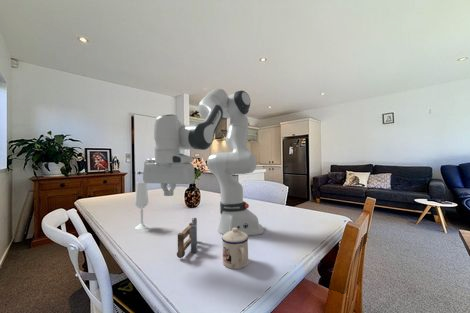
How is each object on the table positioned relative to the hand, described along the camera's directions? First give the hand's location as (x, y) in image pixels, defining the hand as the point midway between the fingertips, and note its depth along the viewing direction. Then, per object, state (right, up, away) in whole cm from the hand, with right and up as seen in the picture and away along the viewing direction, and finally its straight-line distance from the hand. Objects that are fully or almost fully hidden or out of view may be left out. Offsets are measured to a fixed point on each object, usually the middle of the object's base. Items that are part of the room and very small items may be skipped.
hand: (168, 195), depth 73 cm
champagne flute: (-25, -23, +32) cm, 47 cm away
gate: (+6, -22, +3) cm, 23 cm away
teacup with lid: (+25, -22, -7) cm, 34 cm away
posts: (+8, -22, +7) cm, 25 cm away
